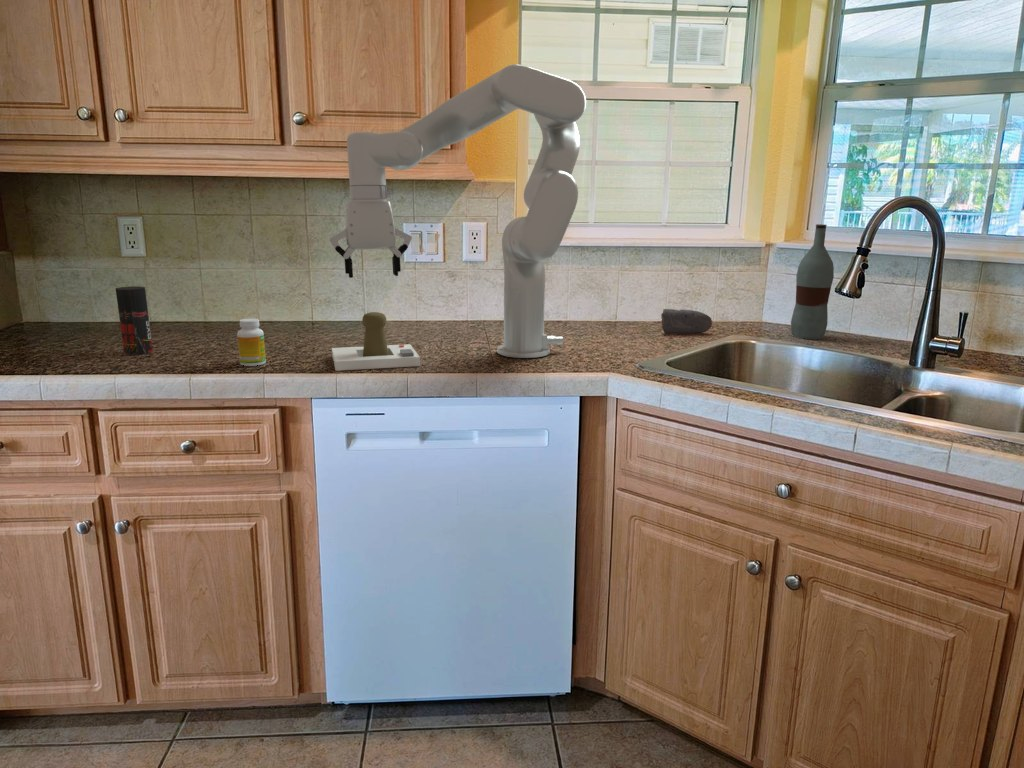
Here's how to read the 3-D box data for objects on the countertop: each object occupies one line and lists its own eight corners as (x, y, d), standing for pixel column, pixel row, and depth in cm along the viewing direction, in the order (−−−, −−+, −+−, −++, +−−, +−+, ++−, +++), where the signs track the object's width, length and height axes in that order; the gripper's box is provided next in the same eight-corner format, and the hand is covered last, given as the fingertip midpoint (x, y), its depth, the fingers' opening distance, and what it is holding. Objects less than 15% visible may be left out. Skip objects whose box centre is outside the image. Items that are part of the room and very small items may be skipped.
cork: (377, 357, 159) (375, 309, 156) (395, 361, 156) (393, 312, 153) (356, 361, 155) (354, 312, 152) (374, 365, 151) (372, 315, 148)
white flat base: (410, 352, 164) (409, 340, 163) (420, 365, 151) (419, 353, 150) (332, 356, 159) (331, 344, 158) (335, 370, 146) (334, 357, 145)
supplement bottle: (266, 365, 150) (262, 321, 147) (239, 367, 148) (235, 322, 146) (265, 360, 155) (262, 317, 152) (240, 361, 153) (236, 318, 150)
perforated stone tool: (707, 332, 195) (710, 307, 193) (714, 335, 189) (716, 310, 188) (655, 332, 193) (657, 307, 192) (661, 336, 188) (662, 310, 187)
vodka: (833, 339, 186) (848, 225, 179) (806, 341, 183) (820, 225, 176) (808, 332, 195) (822, 223, 187) (781, 334, 192) (794, 223, 184)
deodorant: (125, 350, 162) (116, 287, 158) (153, 349, 165) (146, 286, 161) (123, 356, 157) (113, 290, 153) (152, 354, 159) (144, 289, 155)
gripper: (406, 194, 152) (410, 272, 156) (325, 195, 147) (331, 276, 151) (412, 194, 145) (415, 276, 149) (327, 195, 140) (333, 279, 144)
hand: (373, 276), depth 150 cm, fingers open, 9 cm apart
